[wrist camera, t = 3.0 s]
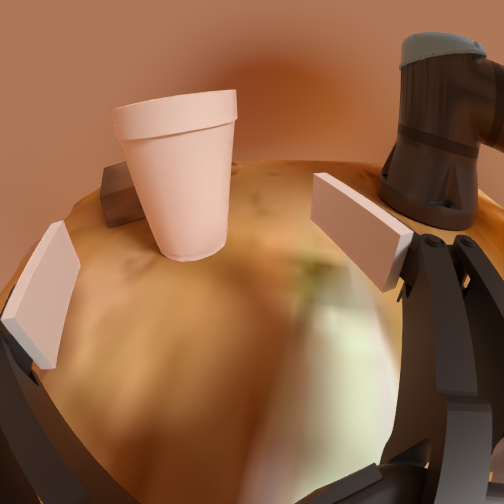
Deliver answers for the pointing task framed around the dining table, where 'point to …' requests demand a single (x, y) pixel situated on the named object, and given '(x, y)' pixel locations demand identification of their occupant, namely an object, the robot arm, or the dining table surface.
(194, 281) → the dining table surface
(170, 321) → the dining table surface
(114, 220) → the walnut plinth
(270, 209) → the dining table surface
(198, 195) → the foam cup
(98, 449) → the dining table surface
